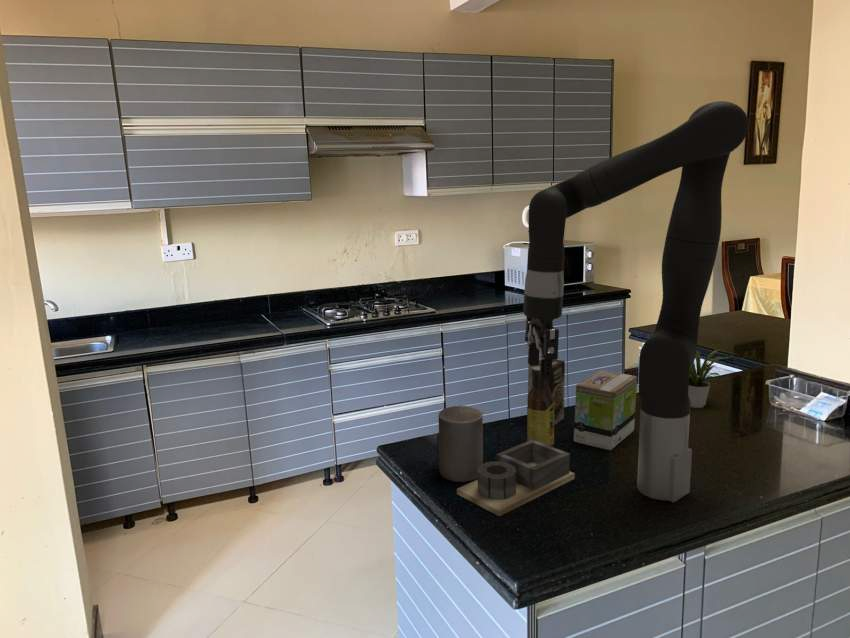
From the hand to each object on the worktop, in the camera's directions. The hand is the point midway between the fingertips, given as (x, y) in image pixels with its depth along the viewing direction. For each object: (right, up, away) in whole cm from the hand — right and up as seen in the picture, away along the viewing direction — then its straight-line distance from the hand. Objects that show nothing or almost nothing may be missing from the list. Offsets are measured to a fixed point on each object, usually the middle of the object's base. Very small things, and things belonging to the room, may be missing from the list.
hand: (539, 371), depth 130 cm
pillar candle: (-15, -23, +12) cm, 30 cm away
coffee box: (+9, -17, +39) cm, 43 cm away
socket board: (-4, -24, +4) cm, 25 cm away
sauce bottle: (+4, -20, +22) cm, 31 cm away
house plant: (+53, -13, +47) cm, 72 cm away
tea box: (+21, -19, +28) cm, 40 cm away
